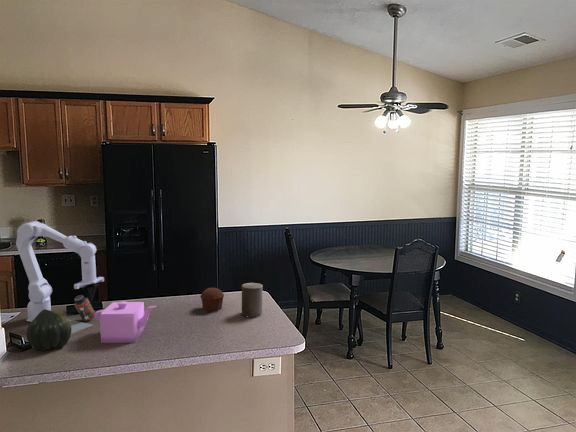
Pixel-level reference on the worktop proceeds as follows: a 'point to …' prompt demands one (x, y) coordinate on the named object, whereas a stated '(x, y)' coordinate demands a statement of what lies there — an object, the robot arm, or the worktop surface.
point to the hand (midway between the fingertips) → (90, 300)
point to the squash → (48, 330)
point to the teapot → (122, 321)
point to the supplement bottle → (84, 308)
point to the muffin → (212, 299)
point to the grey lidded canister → (252, 299)
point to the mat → (78, 326)
